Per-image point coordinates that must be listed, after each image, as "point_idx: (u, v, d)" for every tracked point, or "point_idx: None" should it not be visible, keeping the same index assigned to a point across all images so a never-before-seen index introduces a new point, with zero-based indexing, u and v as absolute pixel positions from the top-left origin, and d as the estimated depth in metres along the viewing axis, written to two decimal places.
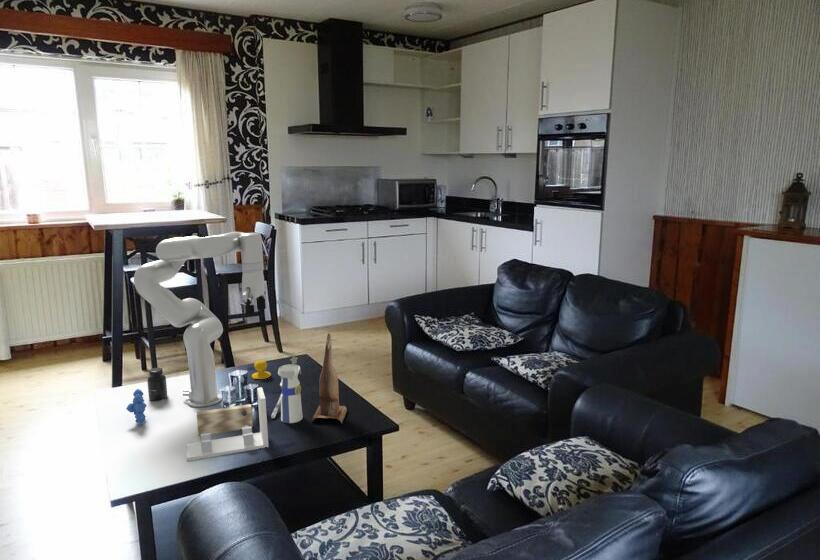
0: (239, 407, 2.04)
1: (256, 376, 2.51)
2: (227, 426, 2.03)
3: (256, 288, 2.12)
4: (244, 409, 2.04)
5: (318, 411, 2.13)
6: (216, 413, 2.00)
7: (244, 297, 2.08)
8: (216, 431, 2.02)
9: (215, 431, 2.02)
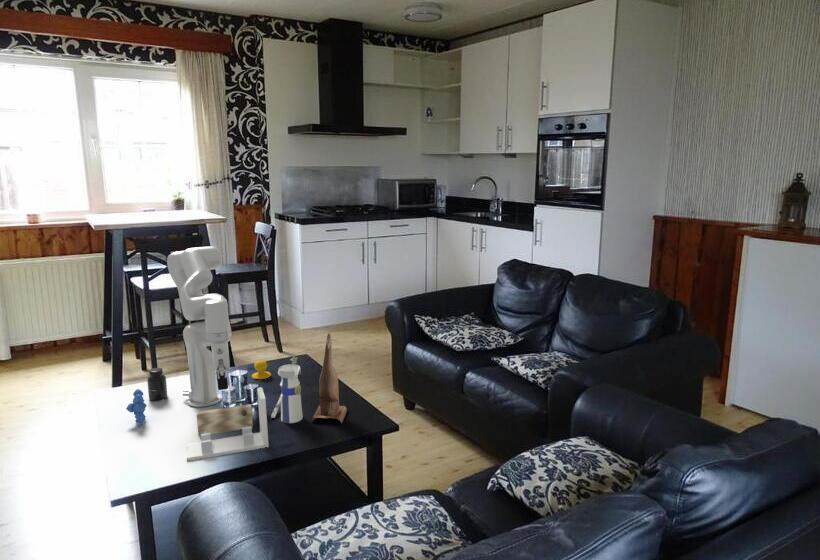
0: (239, 407, 2.04)
1: (256, 376, 2.51)
2: (227, 426, 2.03)
3: None
4: (244, 409, 2.04)
5: (318, 411, 2.13)
6: (216, 413, 2.01)
7: None
8: (216, 431, 2.02)
9: (215, 431, 2.02)
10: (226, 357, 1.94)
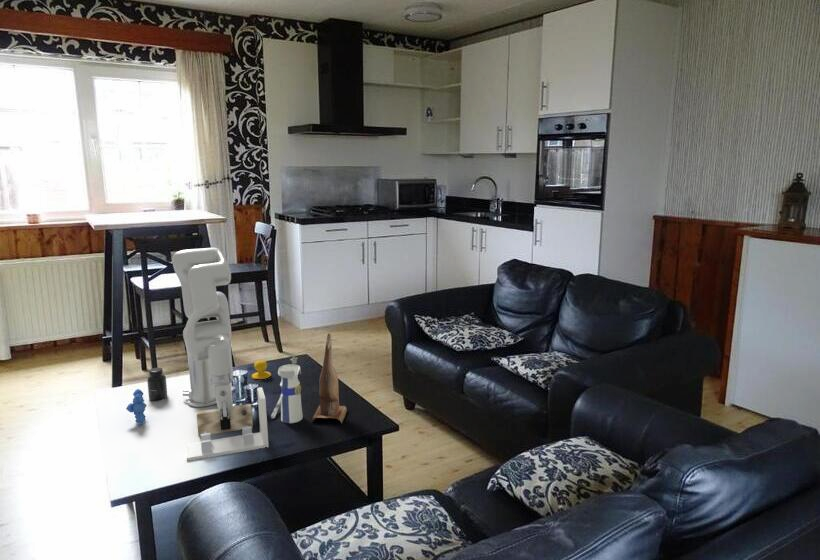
0: (239, 407, 2.04)
1: (256, 376, 2.51)
2: None
3: None
4: (244, 409, 2.03)
5: (318, 411, 2.13)
6: (216, 413, 2.00)
7: None
8: (216, 431, 2.02)
9: (215, 431, 2.01)
10: (229, 399, 1.97)
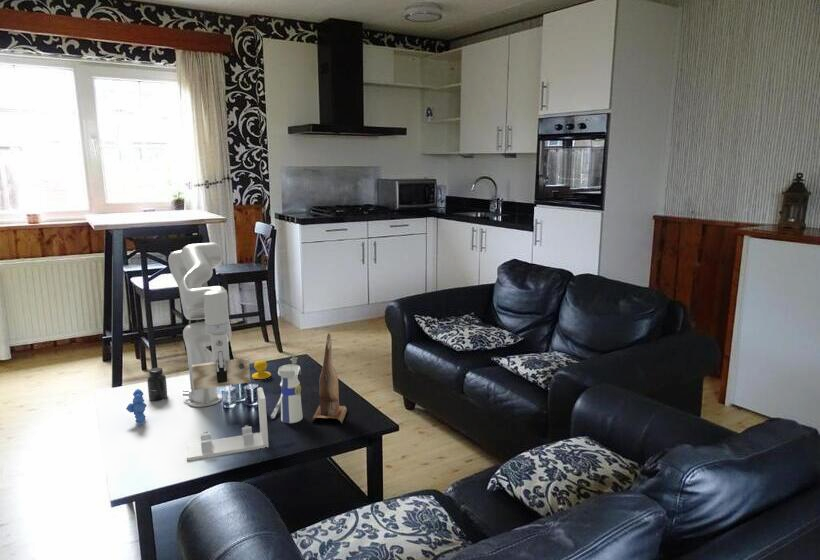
0: (236, 360, 1.97)
1: (256, 376, 2.51)
2: None
3: None
4: (241, 362, 1.97)
5: (318, 411, 2.13)
6: (212, 366, 1.94)
7: None
8: (212, 385, 1.95)
9: (211, 385, 1.95)
10: (226, 349, 1.91)
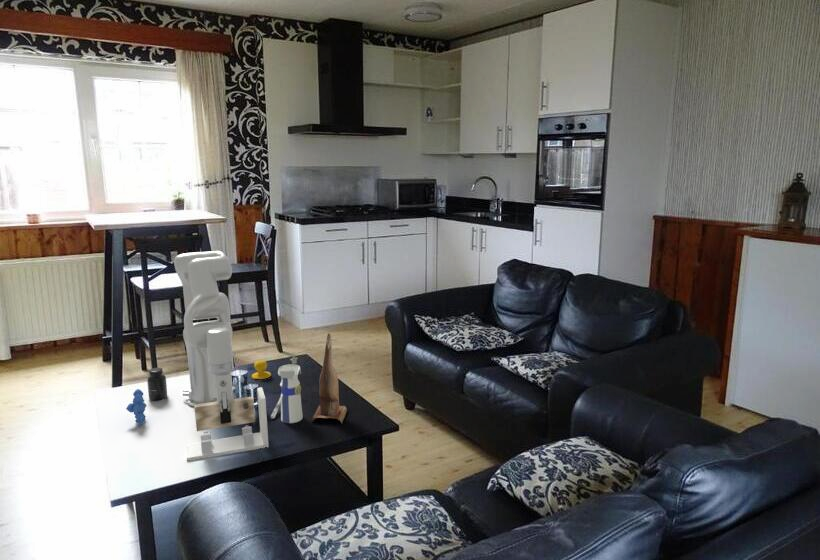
0: (240, 399, 1.90)
1: (256, 376, 2.51)
2: None
3: None
4: (246, 402, 1.90)
5: (318, 411, 2.13)
6: (215, 406, 1.87)
7: None
8: (216, 425, 1.88)
9: (215, 425, 1.88)
10: (230, 389, 1.84)
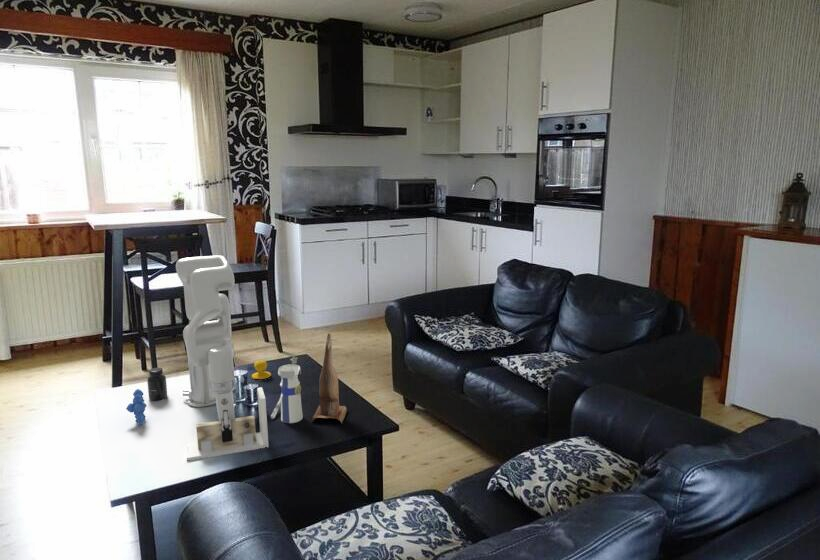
0: (241, 419, 1.92)
1: (256, 376, 2.51)
2: None
3: None
4: (247, 421, 1.91)
5: (318, 411, 2.13)
6: (217, 425, 1.88)
7: None
8: (217, 444, 1.89)
9: (216, 444, 1.89)
10: (231, 408, 1.85)
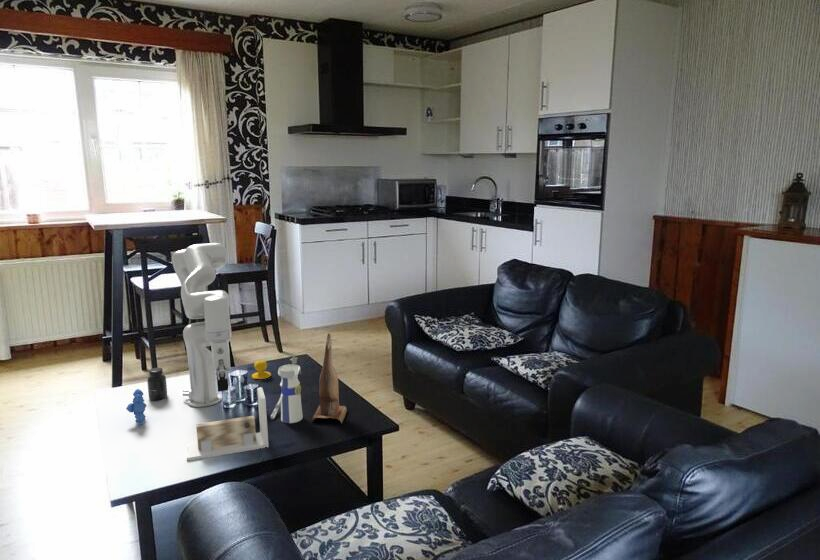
0: (241, 419, 1.92)
1: (256, 376, 2.51)
2: (229, 439, 1.90)
3: None
4: (247, 421, 1.91)
5: (318, 411, 2.13)
6: (217, 425, 1.88)
7: None
8: (217, 444, 1.89)
9: (216, 444, 1.89)
10: (227, 357, 1.84)
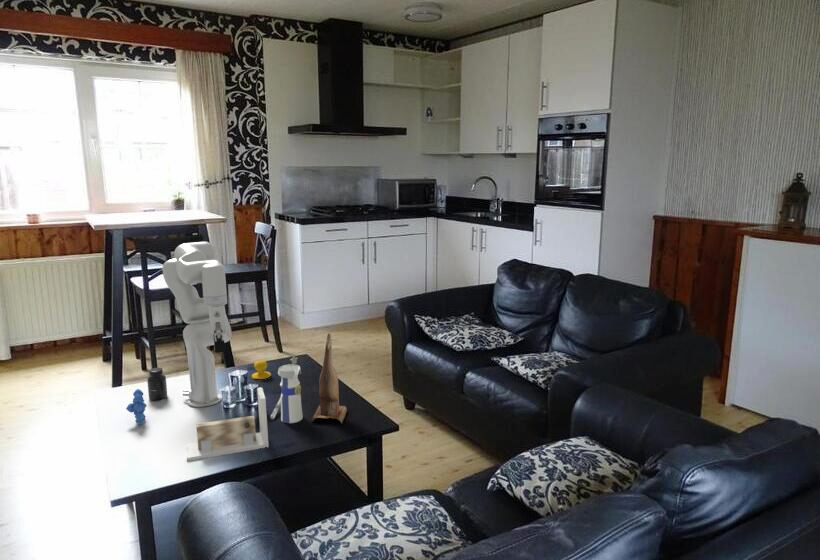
0: (241, 419, 1.92)
1: (256, 376, 2.51)
2: (229, 439, 1.90)
3: None
4: (247, 421, 1.91)
5: (318, 411, 2.13)
6: (217, 425, 1.88)
7: None
8: (217, 444, 1.89)
9: (216, 444, 1.89)
10: (223, 320, 1.97)
